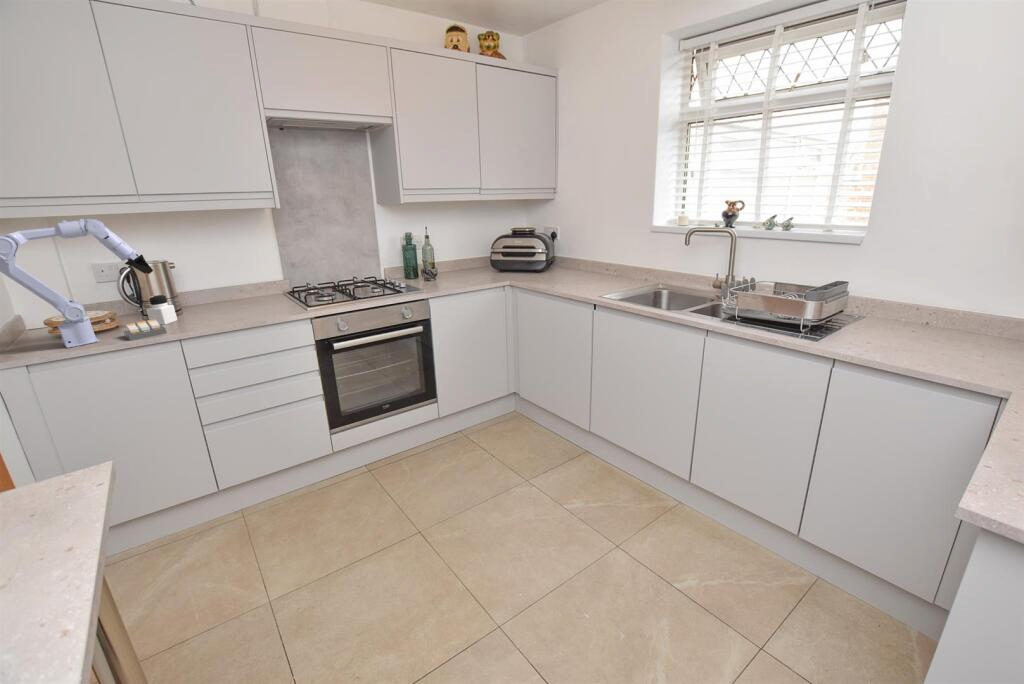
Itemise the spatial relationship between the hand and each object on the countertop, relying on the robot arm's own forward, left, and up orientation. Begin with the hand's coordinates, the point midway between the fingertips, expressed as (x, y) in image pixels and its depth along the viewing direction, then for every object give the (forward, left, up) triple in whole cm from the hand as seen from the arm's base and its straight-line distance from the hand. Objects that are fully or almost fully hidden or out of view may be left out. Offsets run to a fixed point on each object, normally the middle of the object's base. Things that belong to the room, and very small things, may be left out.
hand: (149, 272), depth 190 cm
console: (-8, -5, -24) cm, 25 cm away
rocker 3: (-4, -5, -20) cm, 21 cm away
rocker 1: (-11, -5, -20) cm, 23 cm away
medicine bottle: (+2, +12, -24) cm, 27 cm away
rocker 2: (-8, -5, -20) cm, 22 cm away
